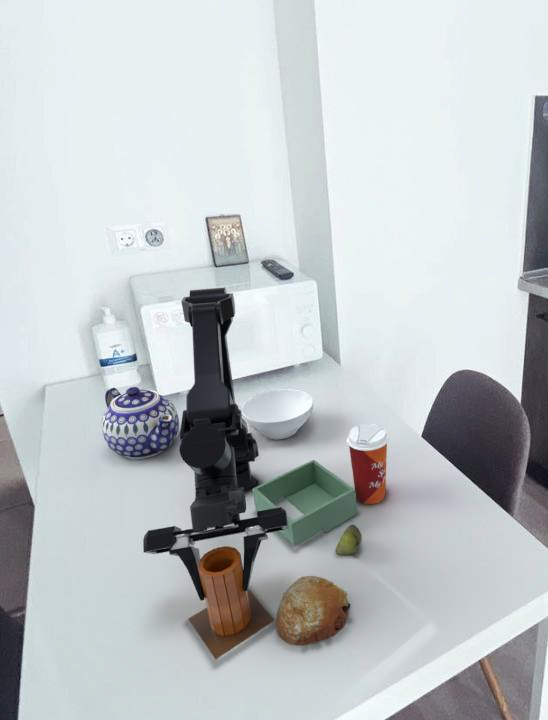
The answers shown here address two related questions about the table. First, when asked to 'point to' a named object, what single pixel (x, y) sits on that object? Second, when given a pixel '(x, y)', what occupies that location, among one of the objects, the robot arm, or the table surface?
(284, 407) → the bowl
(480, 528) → the table surface
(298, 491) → the bin
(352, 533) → the lime
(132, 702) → the table surface
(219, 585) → the slatted orange pencil cup
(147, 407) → the teapot
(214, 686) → the table surface
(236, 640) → the stand
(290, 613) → the bread roll
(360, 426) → the paper cup
